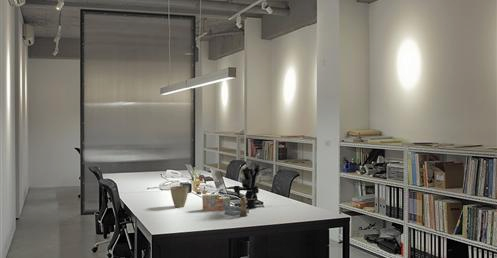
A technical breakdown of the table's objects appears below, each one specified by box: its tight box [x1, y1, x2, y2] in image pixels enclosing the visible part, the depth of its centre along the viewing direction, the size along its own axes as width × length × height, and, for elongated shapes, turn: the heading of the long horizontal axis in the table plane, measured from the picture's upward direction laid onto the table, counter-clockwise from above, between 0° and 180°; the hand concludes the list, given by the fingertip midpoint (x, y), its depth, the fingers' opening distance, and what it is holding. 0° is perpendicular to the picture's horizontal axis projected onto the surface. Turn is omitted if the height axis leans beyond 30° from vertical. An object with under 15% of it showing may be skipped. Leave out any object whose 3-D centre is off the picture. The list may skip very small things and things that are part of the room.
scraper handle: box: [239, 196, 248, 218], centre depth 357 cm, size 6×6×14 cm
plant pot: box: [170, 185, 189, 208], centre depth 395 cm, size 15×15×16 cm
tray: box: [224, 207, 250, 217], centre depth 367 cm, size 14×12×2 cm
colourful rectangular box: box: [202, 193, 231, 212], centre depth 382 cm, size 21×6×12 cm, turn 102°
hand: (244, 198), depth 362 cm, fingers open, 9 cm apart
